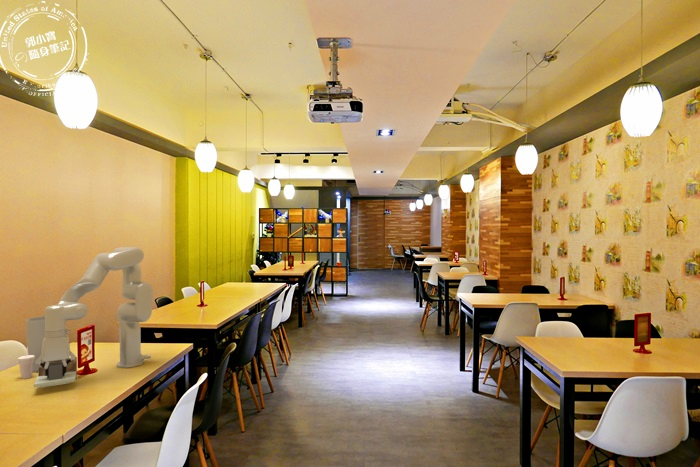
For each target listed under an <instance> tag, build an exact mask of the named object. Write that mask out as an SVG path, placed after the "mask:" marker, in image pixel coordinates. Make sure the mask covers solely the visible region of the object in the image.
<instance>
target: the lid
mask: <svg viewBox="0 0 700 467" xmlns="http://www.w3.org/2000/svg"><path fill="white" fill-rule="evenodd" d="M62 367H63V362H62V361H59V362H52V363H50V364H49V378H47V376H39V377H38V376H36V379H35V380H34V382H33V383H34V384H33V388H37V387H39V388H45V387H52V386H58V385H65V384H71V383H72V382H76V381H77V378H76V371H74V372H67V373H65V375H64V376H62Z"/></svg>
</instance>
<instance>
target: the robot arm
mask: <svg viewBox="0 0 700 467" xmlns="http://www.w3.org/2000/svg"><path fill="white" fill-rule="evenodd" d="M144 256H145V254H144V251H143V250H142V249H141V248H139V247H138V246H137V247H136V246H121V247H120V246H119V247H116V248H114V249H113V250H112V252H100V253H98V254H97V255H95V257H94V258H93V260H92V262H91V263H90V264H89V266H88V268H87V269H86V271H85V272H84V274H83V275H82V277H81V278H80V279H79V280H78V281H77V282H75V283H74V284H73V285H72V286H71V287H69V288H68V289H67V290H66V291H65V292H64V294H62V296H61V298H60V299H59V301H58V302H57V304H54V305H48V306H47V307H45V310H44V316H45V338H43V343H42V353H41V355H40V356H39V358H38V359H37V360H36V361H35V363H37V364H39V365H40V366H42V367H43V368H44V369H45V376H47V378H49V366H48V365H49V362H51V361H59V360H62V362H63V367H62V376H64V375H65V373H66V366H67V365H68V364H69V363H70V362H71V361H72V360H73V359H75V358H76V357H77V356H76V355H75V353H73V352H72V350H71V345H70V337H69V335H68V334H71V329H68V328H67V321H77V320H81V319H83V318H85V317H86V316H87V315H88V312H89V309H88V306H86V304H84V303H82V302H78V301H80V300H81V299H82V297H83V296H85V295H87V294H88V293H90V292H93V291H95V290H97V289H99V288H100V287H101V285H102V284H103V282H104V280H105V279H106V277H107V276H108V274H109V273H110V271H122V281H121V282H122V285H121V295H122V297H123V299H125V300H132V301H133V302H132V301H128V302H123V303H122V304H120V305H119V306H118V309H117V313H116V316H117V320H118V321H117V322H118V326H119V361H118V362H117V363H116V368H119V369H120V368H121V369H123V368H126V369H127V368H128V369H129V368H136V367H138V366H141V365H143V364H144V363H145V360H146V359H147V360H149V359H151V358H152V356H151V354H148V353H147V354H144V355H143V354H142V350H141V347H142V345H141V337H142V336H141V332H142V331H141V325H140V323H145V322H148V320H149V319H150V318H151V316H152V313H153V303H154V302H153V300H154V299H153V298H154V289H153V286H152V285H151V283H149V282H148V281H143V280H142V269H141V266H140V264H141V262H143V260H144ZM134 301H135V302H134ZM68 358H70V359H68ZM41 359H42V361H43V362H41V361H40V360H41ZM66 359H68V360H67V361H66ZM44 362H46V364H45V363H44Z"/></svg>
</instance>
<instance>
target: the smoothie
mask: <svg viewBox="0 0 700 467" xmlns="http://www.w3.org/2000/svg"><path fill="white" fill-rule="evenodd" d="M34 358H35V356H34V355H28V347H27V346H26V355H22V356H20V357H18V358H17V361H18V364H19V370H20V377H21V379H22V380H27V379H31V378H32V376H33V372H32V370H33V363H34Z"/></svg>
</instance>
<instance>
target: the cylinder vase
mask: <svg viewBox="0 0 700 467" xmlns="http://www.w3.org/2000/svg"><path fill="white" fill-rule="evenodd" d="M25 323H26V324H25V325H26V326H25V328H26V329H25V330H26V334H25V335H26V336H25V337H26V348H27V347H28V355H34V356H35V358H34V363H33V370H32V373H37V372H38V367H39V364H37V363H35V361H36V360H37V359H38V358H39V356H40V355H41V353H42V343H43V338H45V315H44V316H43V315H42V316H35V317H31V318H27V319H26V320H25ZM40 361H42V359H41V360H40Z"/></svg>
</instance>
